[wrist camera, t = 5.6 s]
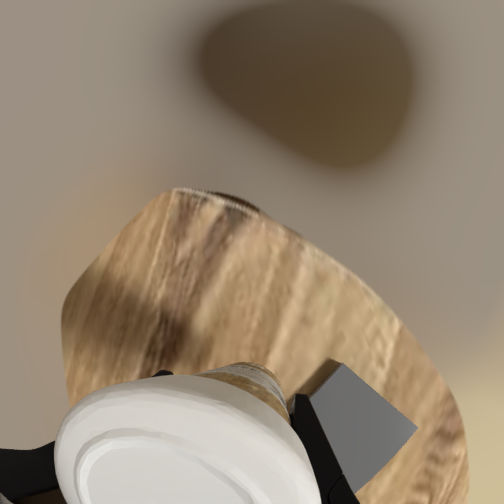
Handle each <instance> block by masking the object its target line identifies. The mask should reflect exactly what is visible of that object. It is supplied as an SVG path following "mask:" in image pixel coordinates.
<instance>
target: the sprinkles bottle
mask: <svg viewBox="0 0 504 504" xmlns="http://www.w3.org/2000/svg"><path fill="white" fill-rule="evenodd" d="M54 463H55V471H56V476H57V479H58V483H59V486H60V489H61V491H62V494H63V496H64V498H65V500H66V502H67V504H321V498H320V493H319V488H318V485H317V482H316V478H315V475H314V472H313V469H312V466H311V463H310V461H309V458H308V455H307V452H306V450H305V448H304V446H303V444H302V442H301V440H300V439H299V437H298V435H297V434H296V432H295V431H294V430H293V429H292V424H291V420H290V417H289V414H288V411H287V407H286V403H285V400H284V396H283V390H282V386H281V384H280V382H279V381H278V380H277V378H276V376H275V375H274V374H273V373H272V372H271V371H269V370H268V369H266V368H265V367H263V366H261V365H258V364H253V363H246V362H239V363H235V364H231V365H228V366H226V367H222V368H217V369H213V370H209V371H205V372H202V373H197V374H194V375H166V376H158V377H152V378H146V379H140V380H135V381H130V382H125V383H120V384H116V385H111V386H108V387H105V388H102V389H99V390H97V391H95V392H93V393H90V394H89V395H87V396H86V397H84V398H83V399H81V400H80V401H79V402H78V403H77V404H75V405H74V406H73V407H72V408H71V409H70V410H69V412H68V413H67V415H66V416H65V418H64V419H63V421H62V423H61V425H60V427H59V430H58V433H57V436H56V440H55V447H54Z"/></svg>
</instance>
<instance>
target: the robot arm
mask: <svg viewBox="0 0 504 504" xmlns="http://www.w3.org/2000/svg"><path fill="white" fill-rule="evenodd" d="M166 375H174V374H173V373H172V372H171V371H167V370H160V371H159V372H158V373H156V374H155V375H154V376H152V377H158V376H166ZM152 377H151V378H152ZM290 420H291V424H292V429H293V430H294V431H295V432H296V434H297V435H298V437H299V439H300V440H301V442H302V444H303V446H304V448H305V450H306V452H307V455H308V458H309V461H310V463H311V466H312V469H313V472H314V475H315V478H316V482H317V485H318V488H319V493H320V498H321V504H360V503H359V501H358V499H357V498H356V496H355V495H354V493H353V491H352V489H351V487H350V485H349V483H348V481H347V479H346V477H345V475H344V474H343V471H342V469H341V466H340V464H339V462H338V460H337V458H336V456H335V454H334V451H333V449H332V447H331V445H330V443H329V441H328V438H327V436H326V434H325V432H324V430H323V428H322V425H321V423H320V421H319V419H318V417H317V415H316V412H315V410H314V408H313V406H312V404H311V401H310V399H309V397H308V395H307V394H301V393H296V394H295V395H294V398H293V402H292V405H291V410H290ZM54 447H55V441H53V442H51V443H49V444H46V445H44V446H42V447H40V448H36V449H32V450H14V449H1V448H0V504H67V502H66V500H65V498H64V496H63V494H62V491H61V489H60V486H59V483H58V479H57V476H56V471H55V463H54Z"/></svg>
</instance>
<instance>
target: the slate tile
mask: <svg viewBox="0 0 504 504" xmlns="http://www.w3.org/2000/svg"><path fill="white" fill-rule="evenodd" d="M309 399H310V401H311V404H312V406H313V408H314V410H315V412H316V415H317V417H318V419H319V421H320V423H321V425H322V428H323V430H324V432H325V434H326V436H327V438H328V441H329V443H330V445H331V447H332V449H333V451H334V454H335V456H336V458H337V460H338V462H339V464H340V466H341V469H342V471H343V474H344V475H345V477H346V479H347V481H348V483H349V485H350V487H351V489H352V491H353V493H354V494H355V493H356V492H357V491H358V490H359V489H360V488H362V487H363V486H364V485H365V484H366V483H367V482H368V481H369V480H370V479H371V478H372V477H373V476H375V475H376V474H377V473H378V472H379V471H380V470H381V469H382V468H383V467H384V466H385V465H386V464H387V463H388V462H389V461H390V459H391V458H392V457H393V456H394V455H395V454H396V453H397V452H398V451H399V450H400V449H401V447H402V446H403V445H404V444H405V443H406V442H407V441H408V439H409V438H410V437H411V436H412V435H413V433H414V432H415V431H416V430H417V428H418V427H417V426H416V425H415V424H413V423H412V422H411V421H410V420H409V419H407V418H406V417H405V416H404V415H403V414H402V413H400V412H399V411H398V410H397V409H396V408H394V407H393V406H392V405H391V404H390V403H389V402H387V401H386V400H385V399H384V398H383V397H382V396H380V395H379V394H378V393H377V392H376V391H375V390H373V389H372V388H371V387H370V386H369V385H368V384H366V383H365V382H364V381H363V380H362V379H361V378H360V377H358V376H357V375H356V374H355V373H354V372H353V371H352V370H350V369H349V368H348V367H347V366H346V365H345V364H344V363H339V365H338V366H337V367H336V368H335V369H334V370H333V371H332V372H331V373H330V375H329V376H328V377H327V378H326V379H325V380H324V381H323V382H322V383H321V384H320V385H319V386H318V387H317V388H316V390H315V391H314V392H313V393H312V394H311V395H310V396H309ZM289 417H290V415H289Z"/></svg>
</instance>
